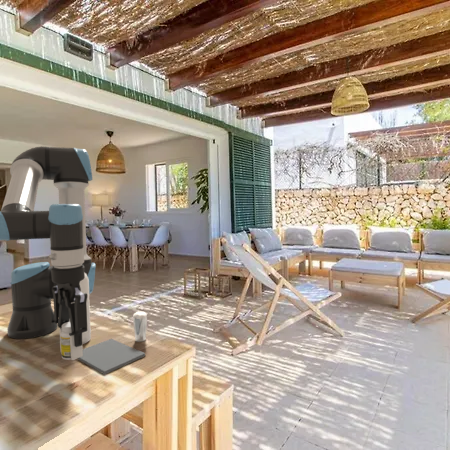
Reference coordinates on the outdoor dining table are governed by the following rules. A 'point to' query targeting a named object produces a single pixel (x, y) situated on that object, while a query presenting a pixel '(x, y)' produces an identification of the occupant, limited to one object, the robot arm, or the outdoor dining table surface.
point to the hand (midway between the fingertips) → (71, 354)
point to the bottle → (85, 289)
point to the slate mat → (109, 355)
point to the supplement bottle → (66, 341)
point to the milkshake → (140, 325)
